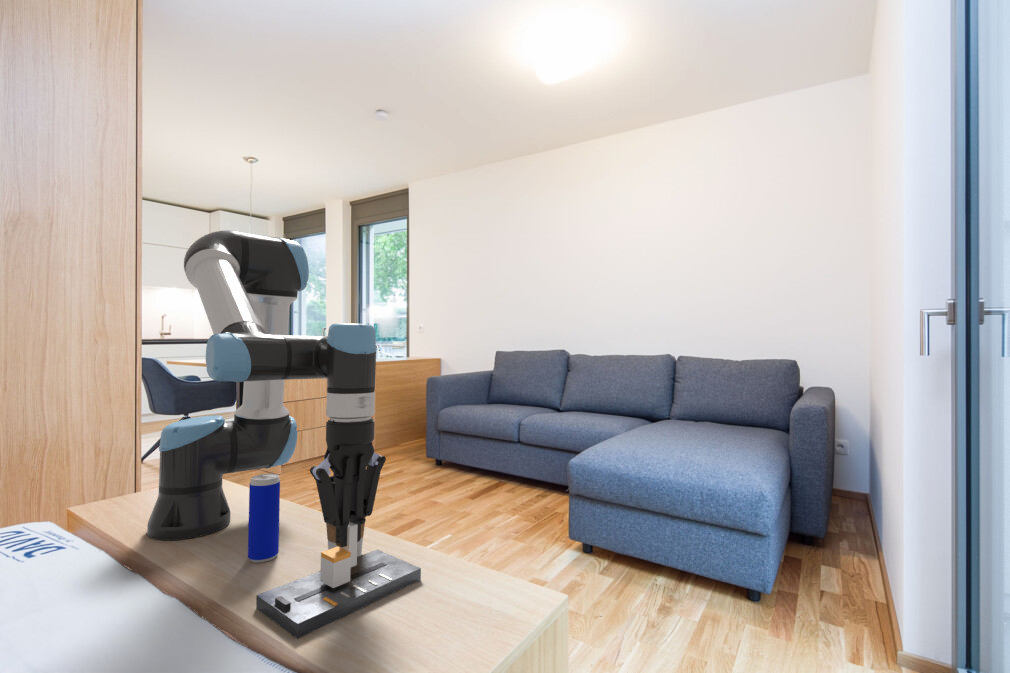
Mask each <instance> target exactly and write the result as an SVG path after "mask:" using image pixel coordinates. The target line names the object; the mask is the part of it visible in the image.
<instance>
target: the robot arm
mask: <svg viewBox="0 0 1010 673" xmlns="http://www.w3.org/2000/svg"><path fill="white" fill-rule="evenodd" d="M183 270H184V273H185V276H186V278H187V280H188V282H189V283H190V285H192V286H193V287H194V288H196V289H197V291H198V294H199V297H200V300H201V303H202V306H203V308H204V311H205V315H206V317H207V319H208V323H209V325H210V328H211V330H212V333H213V334H212V335H210V336H209V338H208V340H207V343H206V346H205V363H206V373H207V374H208V376H209V378H210V379H211V380H213V381H216V382H234V383H242V382H243V390H242V391H243V392H242V393H243V394H242V404H241V405H240V406H239V407H238V408H236V409H235V411H234V413H233V417H234V418H233V420H228V421H226V419H225V418H224V416H223V415H219V414H215V415H214V414H213V415H204V416H202V415H201V416H198V417H197V416H196V417H191V418H186V419H181V420H178V421H174V422H172V423H169V424H168V425H166V426H165V427H164V428H162V430H161V433H160V439H159V440H160V441H159V446H158V451H159V470H158V472H159V475H158V476H159V477H158V495H157V498H156V500H155V504H154V505H153V509H152V511H151V513H150V516H149V518H148V521H147V526H146V527H147V529H146V534H147V537H149V538H151V539H153V540H159V541H178V540H180V541H181V540H186V539H192V538H198V537H202V536H205V535H209V534H212V533H215V532H218V531H220V530H222V529H225V528H226V527H227V526H228V525H230V523H231V509H230V506H229V503H228V500H227V497H226V494H225V492H224V489H223V476H224V475H225V474H233V473H239V472H240V473H241V472H247V471H252V470H253V471H255V470H261V469H263V470H265V469H267V470H268V469H270V468H273V467H279V466H283V465H285V464H287V463H288V462H289V461H290V460H291V458H292V457H293V455H294V453H295V449H296V446H297V444H298V443H297V442H298V430H297V429H298V426H297V421H296V419H295V418H294V416H291V415H290V410H289V409H288V408H287V407H286V406H285V405H284V397H285V396H284V394H285V382H286V380H317V379H320V380H321V379H326V380H327V381H326V383H327V384H326V408H325V410H326V411H325V414H326V416H327V417H328V418H329V419H327V421H326V422H325V423H326V424H325V427H326V428H325V429H326V430H325V442H326V451H325V454H324V455H323V458H324V459H323V460H322V461H321V462H320V463H319V464H318V465H317V466H315V465H313V466H311V467H310V469H309V473H310V475H311V476H312V477H313V479H314V480H315V483H316V488H317V492H318V498H319V503H320V507H321V512H322V517H323V518H322V519H323V521H324V523H325V524H326V523H327V524H330V525H332V526H335V527H336V545H337V546H339V547H340V548H342V549H345V550H347V551H349V552H351V567H353V566H356V565H357V542H359V541H360V539H361V524H364V523H365V524H366V521H367V519H366V518H365V517H370V516H371V515H372V514H373V511H374V510H373V509H374V505H375V500H376V495H377V491H378V486H379V481H380V477H381V472H382V469H383V468H384V464H386V463H385V462H386V460H387V458H386V456H385V455H381V454H378V453H376V452H375V447H374V446H373V442H374V440H375V423H376V422H375V420H374V418H372V417H373V416H374V415H375V414H376V412H375V411H376V410H375V407H376V406H375V405H376V403H375V402H376V373H377V372H376V369H377V368H376V367H377V365H376V364H377V350H378V349H377V348H378V345H377V344H376V343H377V339H376V328H375V327H374V326H373V325H372V324H368V323H353V322H352V323H348V322H347V323H345V322H344V323H341V322H339V323H338V322H337V323H332V324H331V325H329V328H328V334H327V335H296V334H295V335H291V334H289V322H290V321H289V320H290V306H291V304H292V303H294V302H295V301H296V300H297V299H298V293H299V292H301V291H304V290H305V289H306V288H307V285H308V281H309V277H310V276H309V275H310V274H309V273H310V272H309V271H310V268H309V260H308V257H307V254H306V252H305V250H304V247H303V245H301V244H300V243H299V242H297V241H295V240H292V239H291V240H290V239H287V238H283V237H279V236H278V237H276V236H270V235H269V236H268V235H262V234H256V233H247V232H241V231H236V230H235V231H234V230H217V231H212V232H210V233H206V234H205V235H203V236H201V237H198V239H197V240H195V241H193V243H192V244H191V245H190V246H189V248H188V249H187V250H186V252H185V255H184V259H183ZM330 470H331V471H330ZM331 472H332V473H333V475H332V476H333V480H334V482H335V496H334V491H333V486H332V482H331V479H330V476H331ZM364 518H365V519H364ZM349 519H350V521H349Z"/></svg>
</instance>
